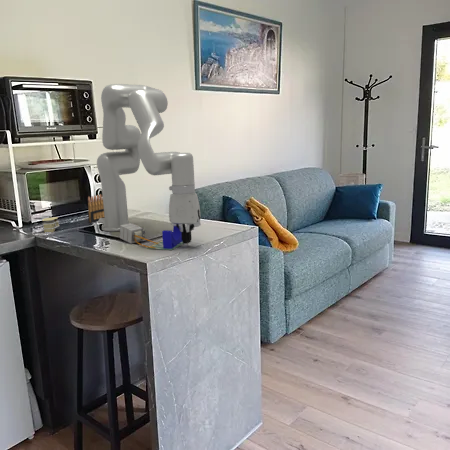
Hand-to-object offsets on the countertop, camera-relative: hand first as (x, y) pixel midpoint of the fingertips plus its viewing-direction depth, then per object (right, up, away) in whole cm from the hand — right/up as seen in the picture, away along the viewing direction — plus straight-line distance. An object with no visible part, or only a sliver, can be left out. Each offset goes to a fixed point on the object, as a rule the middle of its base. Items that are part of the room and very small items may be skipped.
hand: (186, 242), depth 158 cm
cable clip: (-6, -1, +3) cm, 6 cm away
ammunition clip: (-45, +8, +52) cm, 69 cm away
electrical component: (-16, -1, +5) cm, 16 cm away
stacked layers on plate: (-60, +3, +34) cm, 69 cm away
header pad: (-7, -1, +3) cm, 8 cm away
